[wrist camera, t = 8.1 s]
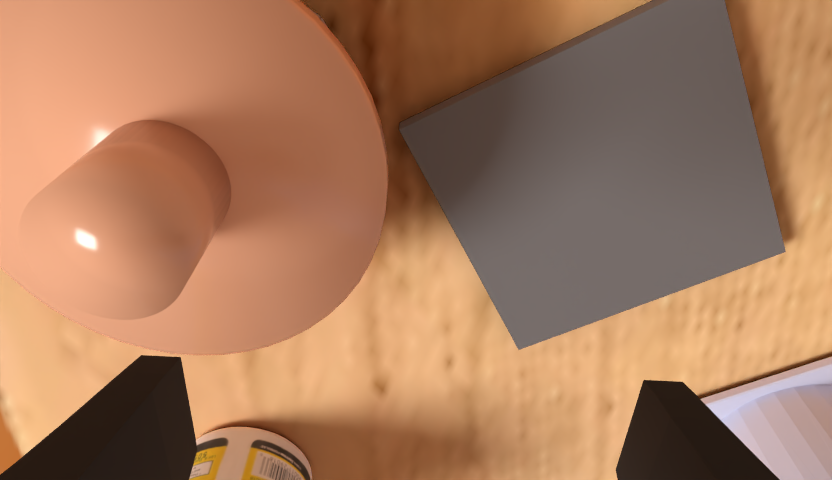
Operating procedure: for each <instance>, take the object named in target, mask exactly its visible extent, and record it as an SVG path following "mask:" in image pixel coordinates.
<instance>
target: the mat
mask: <svg viewBox="0 0 832 480" xmlns="http://www.w3.org/2000/svg"><path fill="white" fill-rule="evenodd" d="M399 131H400V133H401V134H402V136H403V138H404V140H405V142H406V144H407V145H408V147H409V149H410V151H411V153H412V155H413V156H414V158H415V160H416V162H417V164H418V166H419V167H420V169H421V171H422V173H423V175H424V177H425V178H426V180H427V182H428V184H429V186H430V188H431V189H432V191H433V193H434V195H435V197H436V199H437V201H438V202H439V204H440V206H441V208H442V210H443V212H444V213H445V215H446V217H447V219H448V221H449V223H450V224H451V226H452V228H453V230H454V232H455V234H456V235H457V237H458V239H459V241H460V243H461V245H462V246H463V248H464V250H465V252H466V254H467V256H468V257H469V259H470V261H471V263H472V265H473V267H474V269H475V270H476V272H477V274H478V276H479V278H480V280H481V281H482V283H483V285H484V287H485V289H486V291H487V292H488V294H489V296H490V298H491V300H492V302H493V303H494V305H495V307H496V309H497V311H498V313H499V314H500V316H501V318H502V320H503V322H504V324H505V325H506V327H507V329H508V331H509V333H510V335H511V336H512V338H513V340H514V342H515V344H516V346H517V348H518V349H519V350H520V349H522V348H525V347H528V346H531V345H533V344H536V343H539V342H541V341H544V340H547V339H550V338H552V337H555V336H558V335H561V334H563V333H566V332H569V331H571V330H574V329H577V328H580V327H582V326H585V325H588V324H590V323H593V322H596V321H599V320H601V319H604V318H607V317H610V316H612V315H615V314H618V313H620V312H623V311H626V310H629V309H631V308H634V307H637V306H639V305H642V304H645V303H648V302H650V301H653V300H656V299H658V298H661V297H664V296H667V295H669V294H672V293H675V292H678V291H680V290H683V289H686V288H688V287H691V286H694V285H697V284H699V283H702V282H705V281H707V280H710V279H713V278H716V277H718V276H721V275H724V274H727V273H729V272H732V271H735V270H737V269H740V268H743V267H746V266H748V265H751V264H754V263H756V262H759V261H762V260H765V259H767V258H770V257H773V256H776V255H778V254H781V253H784V252H786V251H785V247H784V243H783V239H782V235H781V231H780V227H779V222H778V218H777V214H776V210H775V206H774V202H773V198H772V194H771V189H770V185H769V181H768V177H767V173H766V169H765V165H764V161H763V157H762V152H761V148H760V144H759V140H758V136H757V132H756V128H755V124H754V119H753V115H752V111H751V107H750V103H749V99H748V95H747V91H746V87H745V82H744V78H743V74H742V70H741V66H740V62H739V58H738V54H737V49H736V45H735V41H734V37H733V33H732V29H731V25H730V21H729V17H728V12H727V8H726V4H725V0H652V1H650V2H648V3H646V4H644V5H642V6H640V7H638V8H636V9H634V10H632V11H630V12H628V13H625V14H623V15H621V16H619V17H617V18H615V19H613V20H611V21H609V22H607V23H605V24H603V25H601V26H599V27H597V28H594V29H592V30H590V31H588V32H586V33H584V34H582V35H580V36H578V37H576V38H574V39H572V40H570V41H568V42H565V43H563V44H561V45H559V46H557V47H555V48H553V49H551V50H549V51H547V52H545V53H543V54H541V55H539V56H537V57H534V58H532V59H530V60H528V61H526V62H524V63H522V64H520V65H518V66H516V67H514V68H512V69H510V70H508V71H506V72H503V73H501V74H499V75H497V76H495V77H493V78H491V79H489V80H487V81H485V82H483V83H481V84H479V85H477V86H475V87H472V88H470V89H468V90H466V91H464V92H462V93H460V94H458V95H456V96H454V97H452V98H450V99H448V100H446V101H444V102H441V103H439V104H437V105H435V106H433V107H431V108H429V109H427V110H425V111H423V112H421V113H419V114H417V115H415V116H413V117H410V118H408V119H406V120H404V121H402V122H400V126H399Z"/></svg>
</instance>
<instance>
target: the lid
mask: <svg viewBox="0 0 832 480" xmlns="http://www.w3.org/2000/svg"><path fill="white" fill-rule="evenodd" d="M388 177H389V175H388V160H387V148H386V143H385V139H384V134H383V129H382V124H381V121H380V118H379V115H378V112H377V109H376V107H375V104H374V101H373V98H372V95H371V93H370V91H369V89H368V87H367V85H366V84H365V82H364V80H363V78H362V76H361V74H360V72H359V70H358V68H357V66H356V65H355V63H354V62H353V60H352V59H351V58H350V56H349V55H348V53H347V52H346V50H345V49H344V47H343V46H342V44H341V43H340V41H339V40H338V39H337V38H336V37H335V36H334V35H333V33H332V32H331V31H330V30H329V29H328V28H327V26H326V25H325V24H324V23H323V22H322V21H321V20H320V18H319V17H318V16H317V15H315V14H314V13H313V12H312V11H311V10H310V9H309V8H308V7H307V6H305V5H304V4H303V3H302V2H301V1H300V0H0V268H1V269H2V270H3V271H4V272H5V273H7V274H8V275H9V276H10V277H11V278H12V279H13V280H14V281H16V282H17V283H18V284H19V285H20V286H21V287H22V288H24V289H25V290H26V291H27V292H29V293H30V294H31V295H33V296H34V297H36V298H37V299H38V300H40V301H41V302H43V303H44V304H45V305H47V306H48V307H50V308H51V309H53V310H55V311H56V312H58V313H60V314H61V315H63V316H65V317H66V318H68V319H70V320H71V321H73V322H75V323H78V324H80V325H82V326H84V327H86V328H88V329H90V330H92V331H94V332H96V333H99V334H101V335H104V336H107V337H110V338H112V339H115V340H118V341H120V342H123V343H127V344H131V345H134V346H138V347H142V348H145V349H150V350H156V351H161V352H167V353H173V354H186V355H225V354H233V353H240V352H247V351H251V350H255V349H259V348H263V347H268V346H271V345H273V344H276V343H279V342H281V341H284V340H287V339H289V338H292V337H293V336H295V335H297V334H299V333H301V332H303V331H305V330H307V329H309V328H311V327H312V326H313V325H315V324H316V323H318V322H319V321H321V320H322V319H323V318H325V317H326V316H328V315H329V314H330V313H331V312H332V311H333V310H334V309H335V308H336V307H338V306H339V305H340V304H341V303H342V302H343V301H344V300H345V299H346V298H347V296H348V295H349V294H350V293H351V291H352V290H353V289H354V288H355V286H356V285H357V284H358V283H359V281H360V280H361V278H362V276H363V274H364V273H365V271H366V269H367V268H368V266H369V264H370V262H371V260H372V258H373V255H374V252H375V250H376V247H377V245H378V242H379V240H380V235H381V231H382V227H383V222H384V218H385V211H386V202H387V190H388Z"/></svg>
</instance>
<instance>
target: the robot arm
mask: <svg viewBox="0 0 832 480" xmlns="http://www.w3.org/2000/svg"><path fill="white" fill-rule="evenodd" d="M196 453H197V444H196V439H195V433H194V428H193V422H192V417H191V411H190V406H189V400H188V395H187V389H186V384H185V378H184V373H183V367H182V362H181V357H165V356H144V355H141V356H140V357H139V358H138V359H136V360H135V361H134V362H133V363H132V364H131V365H129V366H128V367H127V368H126V369H125V370H123V371H122V372H121V373H120V374H119V375H118V376H116V377H115V378H114V379H113V380H112V381H111V382H110V383H108V384H107V385H106V386H105V387H104V388H103V389H101V390H100V391H99V392H98V393H97V394H96V395H95V396H93V397H92V398H91V399H90V400H89V401H88V402H87V403H85V404H84V405H83V406H82V407H81V408H80V409H79V410H77V411H76V412H75V413H74V414H73V415H72V416H70V417H69V418H68V419H67V420H66V421H65V422H63V423H62V424H61V425H60V426H59V427H58V428H56V429H55V430H54V431H53V432H52V433H50V434H49V435H48V436H47V437H46V438H44V439H43V440H42V441H41V442H40V443H39V444H37V445H36V446H35V447H34V448H33V449H31V450H30V451H29V452H28V453H27V454H25V455H24V456H23V457H22V458H21V459H19V460H18V461H17V462H16V463H15V464H13V465H12V466H11V467H10V468H8V469H7V470H6V471H5V472H3V473H2V474H1V475H0V480H189V478H190V475H191V471H192V468H193V464H194V460H195V457H196ZM616 473H617V478H618V480H832V356H831V357H828V358H825V359H822V360H819V361H816V362H813V363H810V364H807V365H804V366H801V367H797V368H794V369H791V370H788V371H785V372H782V373H779V374H776V375H773V376H770V377H766V378H763V379H760V380H757V381H754V382H751V383H748V384H745V385H742V386H739V387H736V388H732V389H729V390H726V391H723V392H720V393H717V394H714V395H711V396H708V397H705V398H702V399H700V398H699V397H698V396H697V395H696V394H695V393H694V392H692V391H691V390H690V389H689V388H688V387H687V386H686V385H685V384H684V383H683V382H672V381H652V380H644V381H643V384H642V387H641V390H640V394H639V397H638V400H637V403H636V406H635V410H634V413H633V416H632V419H631V423H630V426H629V429H628V432H627V435H626V439H625V442H624V445H623V448H622V451H621V455H620V458H619V461H618V464H617V468H616Z"/></svg>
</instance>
